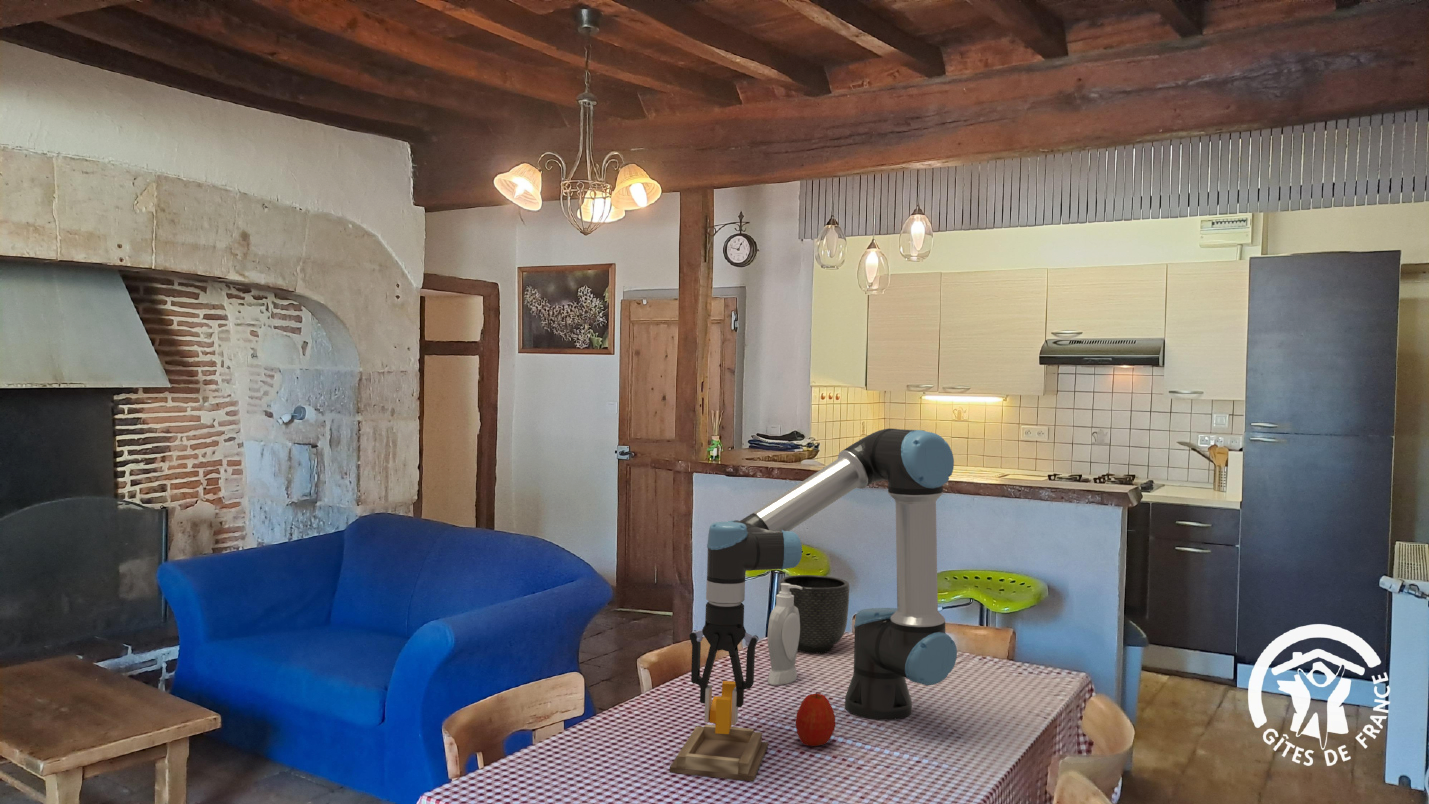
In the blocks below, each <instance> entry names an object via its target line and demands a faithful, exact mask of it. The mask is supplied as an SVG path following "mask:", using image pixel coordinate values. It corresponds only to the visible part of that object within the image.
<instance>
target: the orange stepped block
mask: <svg viewBox="0 0 1429 804" xmlns="http://www.w3.org/2000/svg"><path fill="white" fill-rule="evenodd" d="M735 687H736V684H735V681H729V680H723V681H722V684H721V696H720V695H717V696H715V695H714V696H713V698H712V703H711V709H710V720H709V724H714V725H715V733H717V734H729V732H730V729H731V727H732V725H731V720H732V691H733V690H734V688H735Z"/></svg>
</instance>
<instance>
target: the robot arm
mask: <svg viewBox="0 0 1429 804" xmlns="http://www.w3.org/2000/svg"><path fill="white" fill-rule="evenodd" d="M837 455H838V456H837V459H836V460H833V462H831V463H829V464H827V465H826V466H825V467H823V468H821V469H820V470H818V471H816V472H814V473H813V474H812V475H810V476H809V477H807V478H806V479H804V480H802V481H801V482H799V483H798V484H797V485H794V486H793V487H791V488H790V489H788V490H787V491H785V492H784V493H782V494H781V495H778V497H775V498H773V500H771V501H769V502H767V504H764V505H763V506H762V507H760V508H758V509H757V510H755V511H754V512H752V513H750V514H749V515H747V516H746V517H744V518H741V520H737V519H735V520H727V521H717V522H713V523H712V524H711V525H710V526H709V529H708V533H707V534H708V535H707V544H706V548H707V559H706V560H707V563H706V565H707V566H706V567H707V568H706V588H705V599H706V600H707V602H706V604H705V618H704V619H705V620H704V626H703V627H702V629H699V630H692V632H690V634H689V640H690V642H691V645H692V646H691V649H692V650H691V670H690V671H691V677H690V682H691V683H692V684H693V685H697V686H699V690H700V691H699V692H700V693H699V702H700V704H704V721H703V722H704V723H710V709H711V705H712V700H713V698H712V697H713V695H712V694H713V685H712V684H709V683H710V678H711V674H712V671H713V667H714V664H715V659H716V656H717V652H718V651H719V652H720V651H725V652H728V655H729V656H728V657H729V658H730V659H729V660H730V663H731V667H732V673H733V679H734V682H735V684H736V687H735V688H734V690H733V691H732V720H731V726H736V725H737V722H738V721H739V720H738V718H739V717H738V716H739V708H742V707H743V704H744V701H745V699H744V697H745V696H744V695H745V690H747V689H752V687H753V685H754V683H755V662H756V661H755V659H756V646H757V644H758V641H759V640H760V639H759V636H758V635H757V634H755V635H752V634H749V633H748V632H746V629H745V625H744V624H745V623H744V622H745V621H744V619H745V605H744V604H743V602H744V601H745V600H746V599H745V597H746V596H745V593H746V591H745V590H746V588H745V587H746V573H747V571H749V572H751V571H766V570H767V571H771V570H780V571H782V570H786V569H792V568H796V567H797V566H798V565H799V564H800V562H801V559H802V555H803V546H802V542H801V538H800V537H799V535H798V534H797V533H796V532H794V531H792V530H793V529H795V528H796V527H798V526H799V525H801V524H802V523H804V522H805V521H807V520H809V519H810V518H812V517H813V516H815V515H817V514H818V513H819V512H821V511H822V510H824V509H825V508H827V507H829V506H830V505H832V504H834V503H835V502H836V501H838V500H840V499H841V498H842V497H844V496H846V495H847V494H849V493H850V492H852V491H854V490H855V489H856V488H857V489H860V490H861V489H862V490H864V488H866V487H868V486H869V485H871V484H874V483H876V482H881V481H882V482H883V481H887V493H888V494H889V496H890V497H891V498H892V499H893V500H894V501H895V545H896V546H895V549H896V551H895V552H896V556H895V557H896V597H897V598H896V605H897V606H896V607H875V608H874V607H872V608H870V607H869V608H863V609H861V610H858V611H857V612H856V614H855V620H854V624H853V625H854V626H853V628H854V642H853V643H854V645H853V649H854V650H853V674H852V678H851V680H850V683H849V684H848V685H849V686H848V688H847V690H846V693H845V697H844V707H845V710H847V712H849V713H851V714H853V715H855V716H858V717H861V718H865V719H870V720H880V721H881V720H883V721H887V720H888V721H889V720H890V721H892V720H894V721H895V720H900V719H904V718H906V717H910V716H911V714H912V713H913V712H912V711H913V702H912V699H911V695H910V691H909V688H908V684H907V680H909V682H910V681H911V682H913V683H917V684H920V685H923V686H934V685H936V684H939V683H941V682H942V681H943V682H944V680H945V679H947V677H948V676H949V674H950V673H951V672H952V671H953V669H954V667H955V664H956V661H957V657H958V649H957V644H956V642H955V640H953V639H952V637H951V636H950V635H949V634H947V633H946V618H945V617H944V615H942V613H940V612H939V610H938V609H939V607H938V605H939V603H938V602H939V601H938V600H939V599H938V594H939V593H938V547H937V545H938V543H937V542H938V540H937V501H938V499H939V498H940V497H941V496H942V495H943V494H944V485H945V484H946V483H948V481H949V480H950V478H949V477H950V476H952V474H953V472H954V468H955V467H954V466H955V459H954V454H953V450H952V449H951V447H950V444H949V443H948V442H947V441H946V440H945V439H944V438H943V437H942V436H941V435H940V434H937V433H936V432H935V433H934V432H932V431H931V432H930V431H926V430H922V429H903V428H902V429H900V428H899V429H898V428H884V429H881V430H877V431H874V432H872V433H870V434H868V435H866V436H865V437H863V438H861V439H859V440H857V441H855V442H854V443H852V444H850V445H849V446H847V447H846V448H844V449H843V450H841V451H839V453H838V454H837ZM703 637H704V638H705V639H706V642H708V644H709V648H708V653H707V658H706V661H705V664H704V668H703V672H702V674H701V647H702V646H701V643H702V642H701V641H702V640H703ZM743 640H745V643H744V644H745V646H747V650H746V666H745V668H746V669H745V680H744V675H743V670H742V665H741V660H740V656H739V655H740V654H739V645H740V643H741V642H742V641H743ZM701 675H702V676H701ZM906 679H907V680H906Z"/></svg>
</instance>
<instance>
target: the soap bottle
mask: <svg viewBox="0 0 1429 804" xmlns="http://www.w3.org/2000/svg"><path fill="white" fill-rule="evenodd" d="M790 588H798V589H803V587H800V586H797V585H791V584H788V583H781V591H780V592H778V594H776V595H775V597H776V599H775V600H776V601H775V603H776V604H775V606H774V608H773V609H772V610H771V612H770V614H769V619H768V628H767V648H768V653H769V654H768V655H769V659H770V660H769V661H770V667H771V668H770V670H769V674H768V679H767V683H768V685H771V686H782V685H783V686H784V685H789V684H791V683H793V682H795V681H796V680H797V679H798V673H797V667H796V662H797V661H796V660H797V655H798V644H799V637H800V615H799V611H798V608H797V607H795V606H794V596H793V595H791V592H789V590H790Z"/></svg>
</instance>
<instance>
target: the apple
mask: <svg viewBox="0 0 1429 804" xmlns="http://www.w3.org/2000/svg"><path fill="white" fill-rule="evenodd" d="M835 728H836V716H835V712H834V709H833V707H832V704H831V703H830V701H829V700H828V698H827V697H826V695H824V694H820V693H818V692H817V691H816V692H815V693H810V694H807V696H805V697H804V699H803V700H802V702H801V704H800V706H799V708H798V710H797V712H796V717H795V729H796V733H797V736H798V738H799V740H800V742H801V743H802V744H803V745H805V746H808V747H816V746H822V745H825V744H827V743H829V741H830V739H831V738H832V735H833V734H834V732H835Z"/></svg>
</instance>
